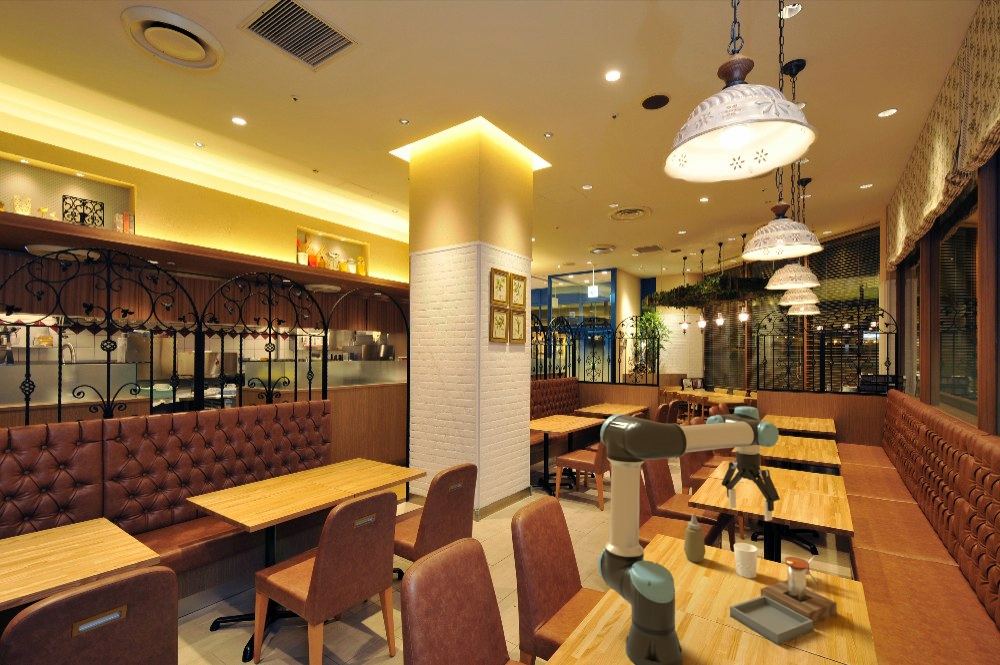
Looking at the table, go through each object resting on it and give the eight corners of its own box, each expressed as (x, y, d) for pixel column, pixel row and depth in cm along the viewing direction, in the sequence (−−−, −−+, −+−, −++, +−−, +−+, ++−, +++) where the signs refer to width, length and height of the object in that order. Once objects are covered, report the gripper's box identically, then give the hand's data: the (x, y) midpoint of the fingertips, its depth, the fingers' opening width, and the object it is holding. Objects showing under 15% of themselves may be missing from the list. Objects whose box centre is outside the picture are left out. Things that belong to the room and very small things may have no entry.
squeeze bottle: (687, 553, 195) (686, 509, 195) (708, 558, 190) (707, 513, 190) (681, 560, 189) (680, 515, 189) (702, 566, 184) (701, 519, 184)
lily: (809, 576, 177) (793, 551, 179) (838, 577, 167) (821, 550, 169) (791, 593, 172) (775, 567, 174) (819, 595, 162) (802, 568, 164)
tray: (777, 645, 135) (777, 634, 135) (730, 616, 150) (729, 606, 150) (813, 630, 142) (813, 620, 142) (764, 604, 156) (764, 595, 156)
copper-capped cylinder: (801, 615, 150) (799, 567, 150) (781, 605, 156) (780, 558, 156) (813, 610, 152) (812, 563, 153) (794, 600, 158) (793, 555, 159)
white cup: (736, 577, 174) (735, 550, 175) (732, 567, 182) (732, 541, 182) (760, 580, 172) (759, 552, 172) (755, 570, 180) (754, 544, 180)
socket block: (808, 626, 144) (808, 613, 144) (760, 600, 158) (760, 588, 158) (836, 615, 150) (836, 602, 150) (788, 591, 164) (787, 579, 164)
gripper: (790, 458, 153) (792, 523, 153) (724, 444, 176) (726, 501, 175) (775, 461, 150) (777, 528, 149) (710, 446, 172) (711, 504, 172)
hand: (749, 513), depth 162 cm, fingers open, 13 cm apart
